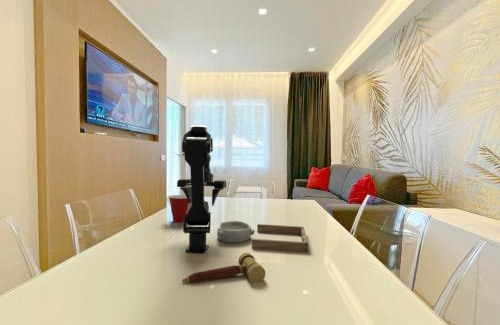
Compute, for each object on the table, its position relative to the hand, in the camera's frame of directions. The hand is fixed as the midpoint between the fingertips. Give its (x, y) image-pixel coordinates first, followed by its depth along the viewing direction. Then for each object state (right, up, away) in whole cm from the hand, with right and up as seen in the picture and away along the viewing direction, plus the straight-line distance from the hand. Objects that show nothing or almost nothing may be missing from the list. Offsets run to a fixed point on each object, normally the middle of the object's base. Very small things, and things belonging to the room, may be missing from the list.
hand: (201, 205), depth 107 cm
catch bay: (+30, -13, -4) cm, 33 cm away
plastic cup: (-14, -11, +21) cm, 27 cm away
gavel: (+12, -14, -35) cm, 39 cm away
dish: (+13, -13, -2) cm, 18 cm away
